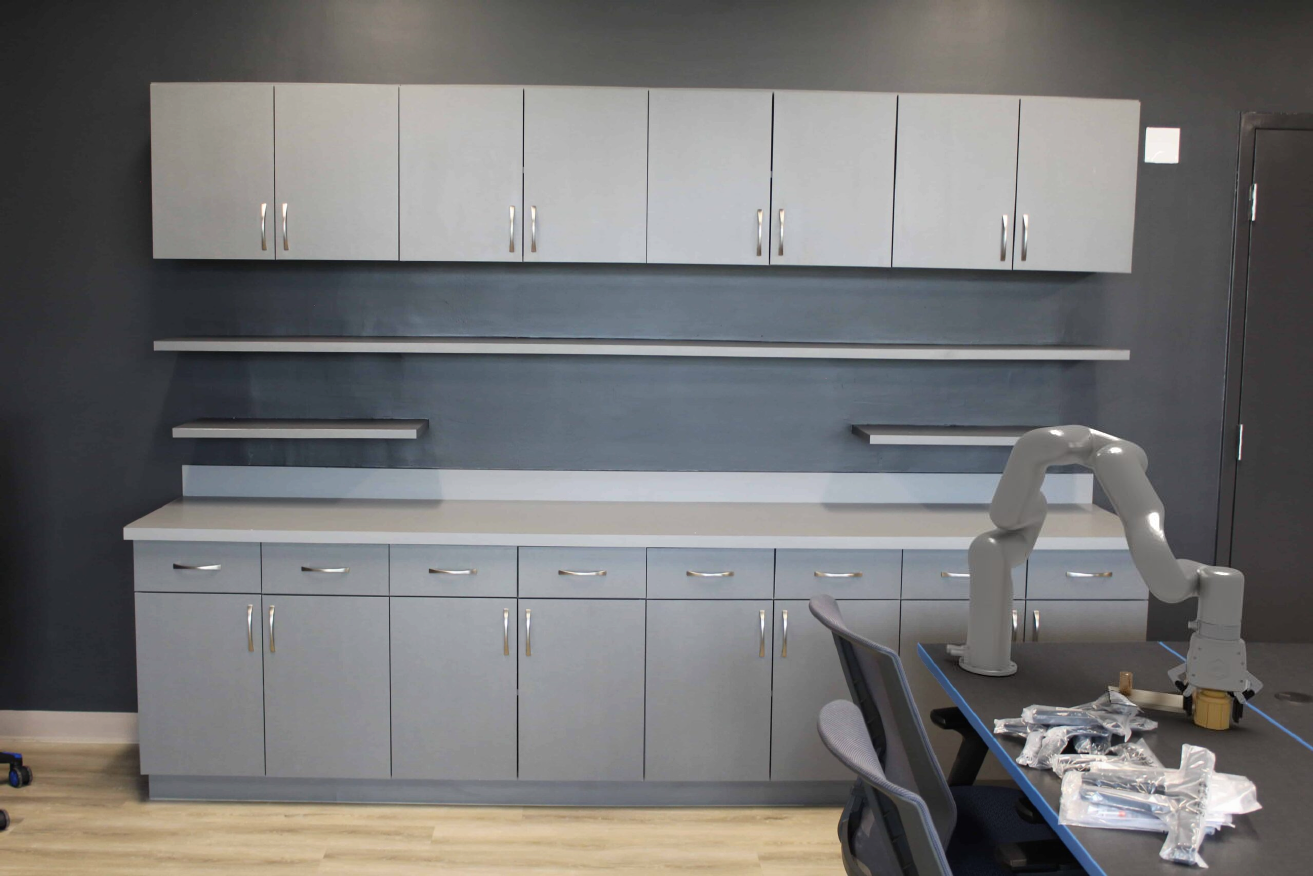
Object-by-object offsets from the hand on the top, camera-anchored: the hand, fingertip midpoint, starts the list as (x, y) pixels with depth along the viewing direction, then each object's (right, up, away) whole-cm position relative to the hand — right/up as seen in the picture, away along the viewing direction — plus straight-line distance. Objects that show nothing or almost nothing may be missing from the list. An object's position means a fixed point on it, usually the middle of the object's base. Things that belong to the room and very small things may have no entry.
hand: (1211, 716), depth 196 cm
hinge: (+16, 0, +22) cm, 28 cm away
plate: (-5, 0, +11) cm, 12 cm away
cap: (0, -1, 0) cm, 1 cm away
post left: (-11, +1, +13) cm, 17 cm away
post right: (0, +1, +8) cm, 9 cm away
